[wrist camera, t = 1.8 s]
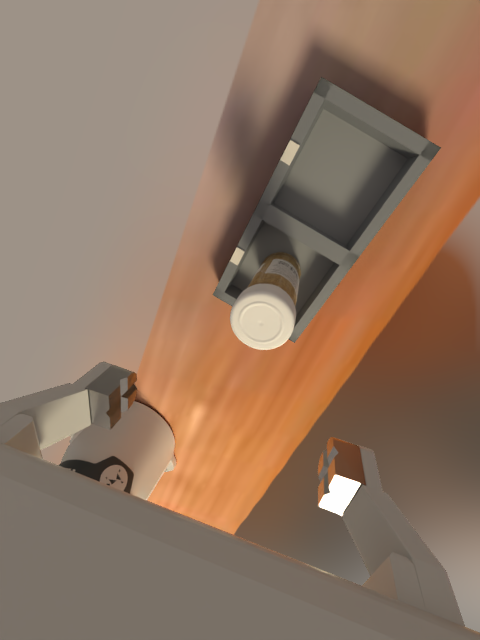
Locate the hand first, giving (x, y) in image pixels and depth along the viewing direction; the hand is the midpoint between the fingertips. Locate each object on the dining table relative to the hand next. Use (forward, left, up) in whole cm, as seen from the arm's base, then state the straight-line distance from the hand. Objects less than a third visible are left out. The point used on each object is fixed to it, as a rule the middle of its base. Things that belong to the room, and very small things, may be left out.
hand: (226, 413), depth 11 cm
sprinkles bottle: (0, 0, -22) cm, 22 cm away
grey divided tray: (+5, +2, -22) cm, 23 cm away
